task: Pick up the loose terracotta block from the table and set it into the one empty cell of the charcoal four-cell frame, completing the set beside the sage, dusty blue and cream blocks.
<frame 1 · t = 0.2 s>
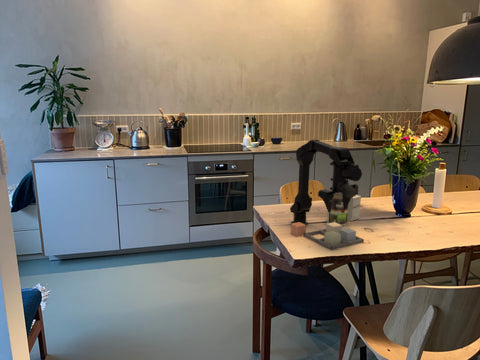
hand: (337, 210, 172), 14 cm above the table, tool pointing down, fingers open, 9 cm apart
charcoal frame: (332, 239, 177), on the table
terracotta block: (298, 234, 184), on the table
supplement box: (349, 218, 207), on the table
coffee can: (336, 223, 200), on the table
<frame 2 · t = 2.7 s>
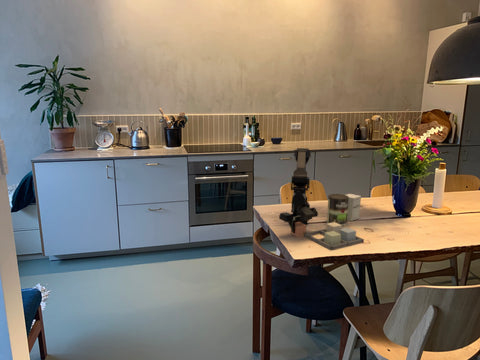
hand: (298, 232, 183), 1 cm above the table, tool pointing down, fingers closed on terracotta block, 5 cm apart
terracotta block: (298, 234, 184), on the table, touching gripper
everything else where it was.
when the fingers open (2 cm above the table, at t = 7.3 s): terracotta block drops 2 cm, resting in charcoal frame.
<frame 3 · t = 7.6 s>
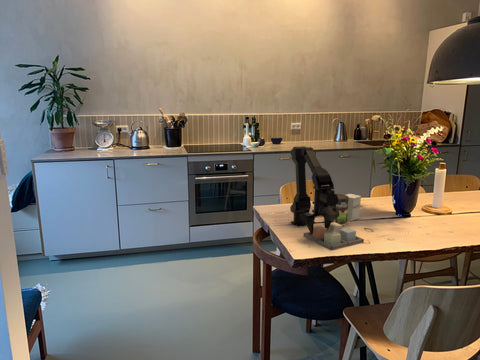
hand: (319, 232, 178), 2 cm above the table, tool pointing down, fingers open, 8 cm apart
terracotta block: (318, 238, 179), resting in charcoal frame
everything else where it was.
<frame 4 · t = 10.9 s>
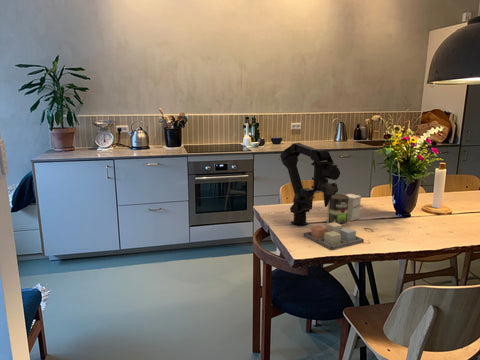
hand: (318, 208, 184), 12 cm above the table, tool pointing down, fingers open, 9 cm apart
nothing on the table moved.
at the end: terracotta block 0.0 cm from the target spot on the charcoal frame, point 0.0 cm above the charcoal frame's base; terracotta block tilted 0°; the gripper is holding nothing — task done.
